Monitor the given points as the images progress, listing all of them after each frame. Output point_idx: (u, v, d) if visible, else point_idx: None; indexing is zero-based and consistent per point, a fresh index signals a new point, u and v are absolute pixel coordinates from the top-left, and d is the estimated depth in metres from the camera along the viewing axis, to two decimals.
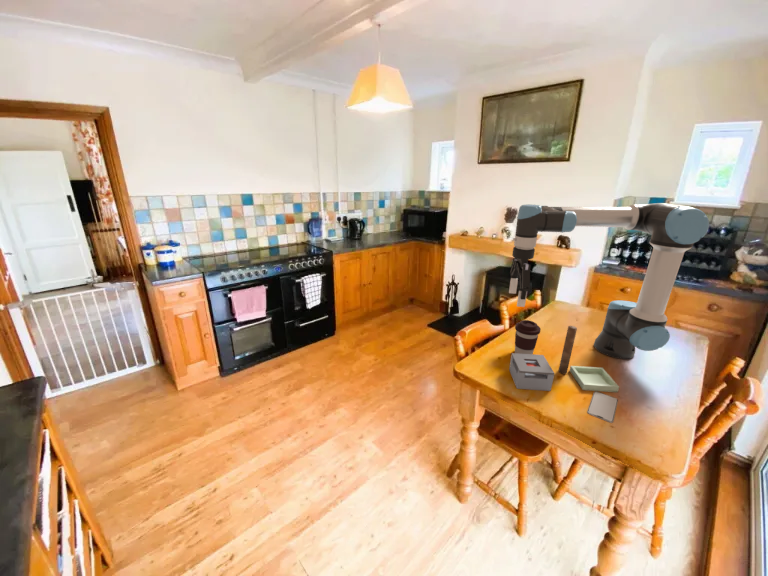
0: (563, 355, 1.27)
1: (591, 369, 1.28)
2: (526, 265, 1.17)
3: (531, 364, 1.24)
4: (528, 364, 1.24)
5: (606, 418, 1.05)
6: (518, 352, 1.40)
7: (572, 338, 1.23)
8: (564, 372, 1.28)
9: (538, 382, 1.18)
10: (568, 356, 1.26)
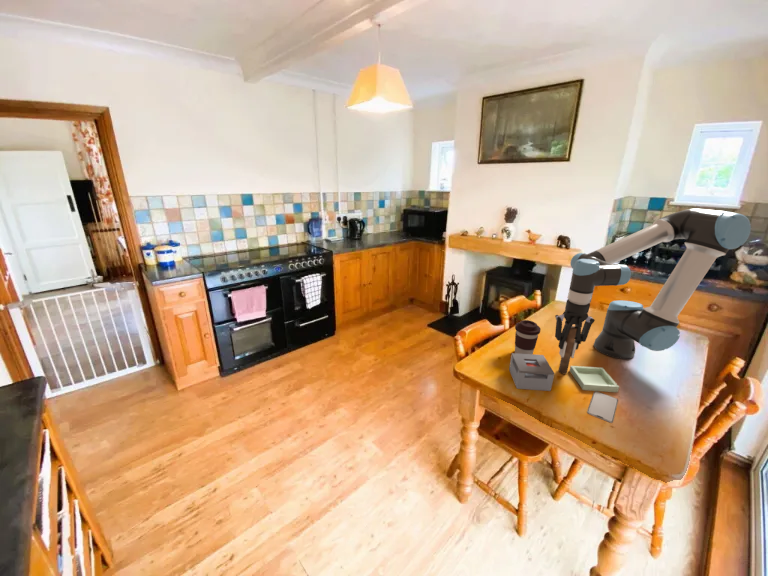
0: None
1: (591, 369, 1.28)
2: (556, 317, 1.22)
3: (531, 364, 1.24)
4: (528, 364, 1.24)
5: (606, 418, 1.05)
6: (518, 352, 1.40)
7: (572, 338, 1.23)
8: (564, 372, 1.28)
9: (538, 382, 1.18)
10: (568, 356, 1.26)
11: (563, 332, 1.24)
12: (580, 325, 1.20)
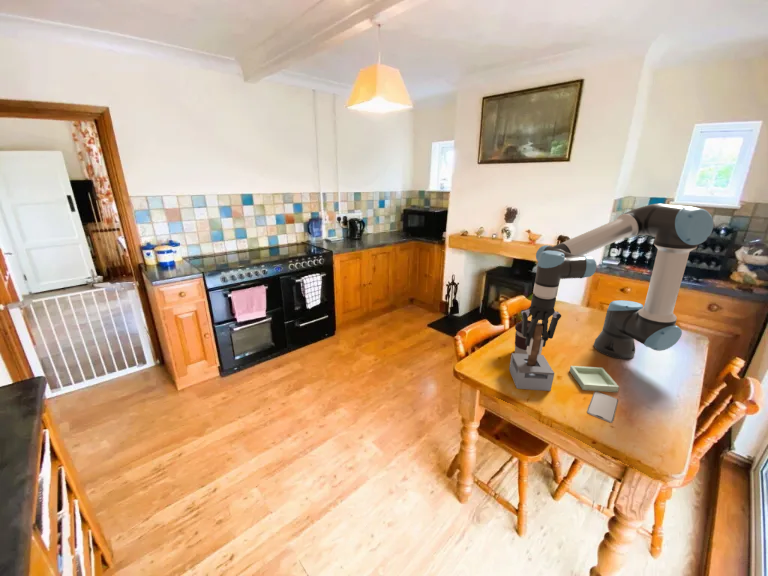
0: None
1: (591, 369, 1.28)
2: (521, 312, 1.16)
3: None
4: None
5: (606, 418, 1.05)
6: (518, 352, 1.40)
7: (538, 335, 1.17)
8: None
9: (538, 382, 1.18)
10: (535, 354, 1.19)
11: (529, 328, 1.17)
12: (546, 321, 1.14)
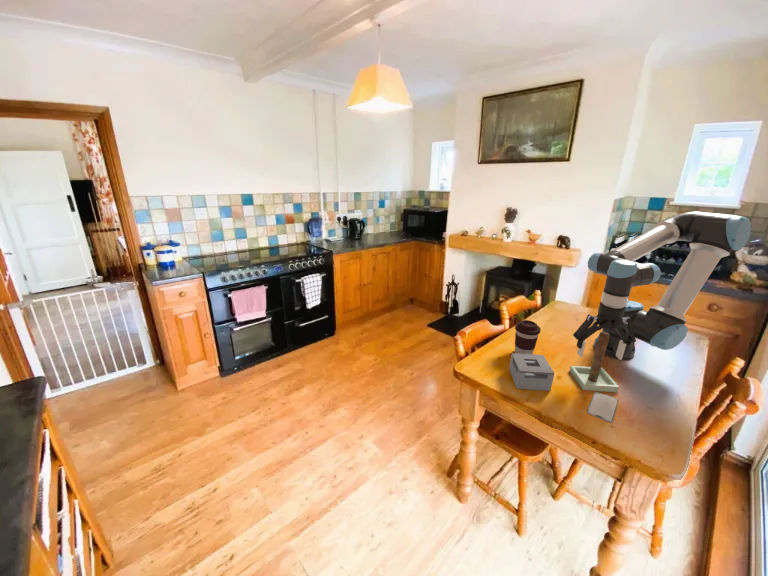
0: (594, 362, 1.21)
1: None
2: (589, 316, 1.15)
3: None
4: None
5: (605, 418, 1.05)
6: (518, 352, 1.40)
7: (604, 345, 1.17)
8: (594, 380, 1.22)
9: (538, 382, 1.18)
10: (599, 364, 1.20)
11: (586, 332, 1.17)
12: (619, 328, 1.14)
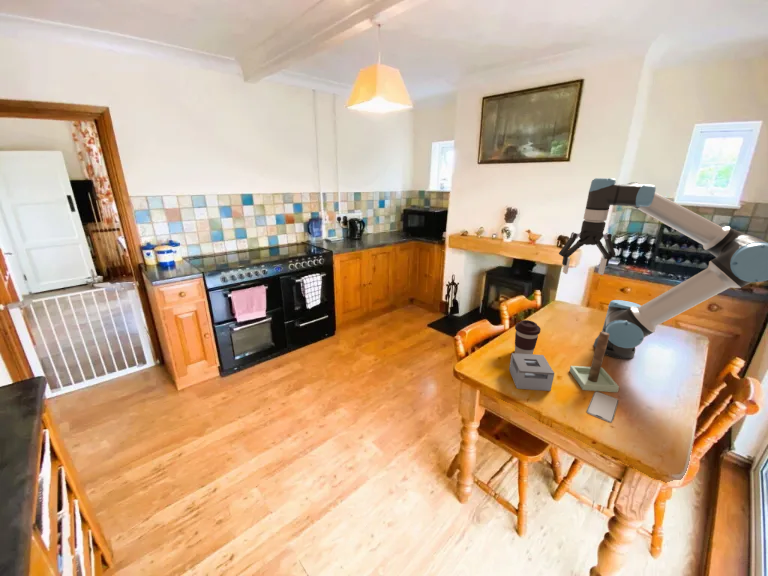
0: (594, 362, 1.21)
1: None
2: (573, 233, 1.26)
3: None
4: None
5: (605, 418, 1.06)
6: (518, 352, 1.40)
7: (604, 345, 1.17)
8: (594, 380, 1.22)
9: (538, 382, 1.18)
10: (599, 364, 1.20)
11: (571, 249, 1.28)
12: (600, 243, 1.24)
